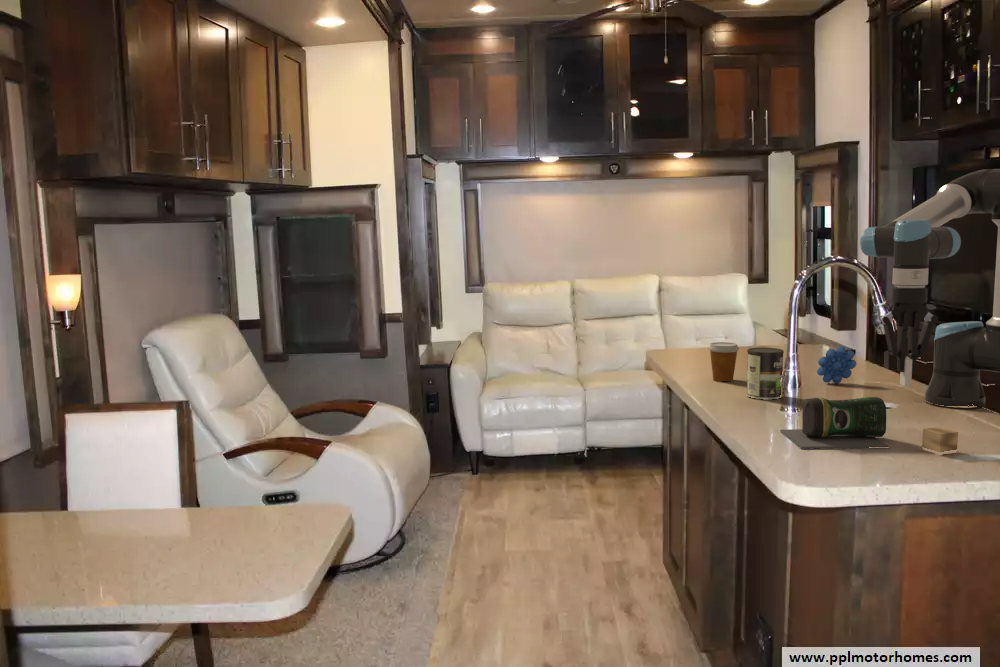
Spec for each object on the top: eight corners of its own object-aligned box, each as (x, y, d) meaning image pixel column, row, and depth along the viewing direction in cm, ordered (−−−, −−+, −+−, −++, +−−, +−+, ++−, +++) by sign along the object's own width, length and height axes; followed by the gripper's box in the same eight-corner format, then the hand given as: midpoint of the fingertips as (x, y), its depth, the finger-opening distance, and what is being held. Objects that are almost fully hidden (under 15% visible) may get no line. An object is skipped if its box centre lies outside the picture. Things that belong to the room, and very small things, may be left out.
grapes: (852, 381, 275) (854, 344, 273) (857, 385, 268) (858, 347, 267) (814, 380, 277) (815, 344, 276) (817, 384, 271) (819, 347, 269)
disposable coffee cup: (744, 380, 280) (745, 344, 278) (725, 384, 274) (726, 347, 272) (720, 376, 287) (721, 341, 286) (702, 380, 281) (702, 343, 280)
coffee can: (787, 395, 256) (788, 348, 254) (775, 401, 247) (776, 353, 246) (753, 391, 262) (754, 346, 260) (740, 397, 254) (741, 350, 252)
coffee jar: (874, 395, 208) (797, 395, 209) (888, 398, 201) (808, 398, 201) (874, 435, 209) (797, 434, 209) (888, 440, 201) (808, 439, 201)
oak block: (939, 448, 197) (940, 426, 196) (956, 453, 192) (958, 432, 192) (921, 450, 195) (922, 428, 195) (939, 455, 191) (940, 434, 190)
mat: (861, 431, 213) (861, 428, 213) (888, 448, 197) (889, 445, 197) (780, 431, 213) (780, 429, 213) (801, 449, 197) (801, 446, 197)
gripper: (888, 288, 196) (884, 389, 200) (946, 287, 196) (940, 388, 199) (875, 285, 204) (871, 382, 207) (930, 284, 203) (926, 381, 207)
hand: (905, 385), depth 203 cm, fingers closed
